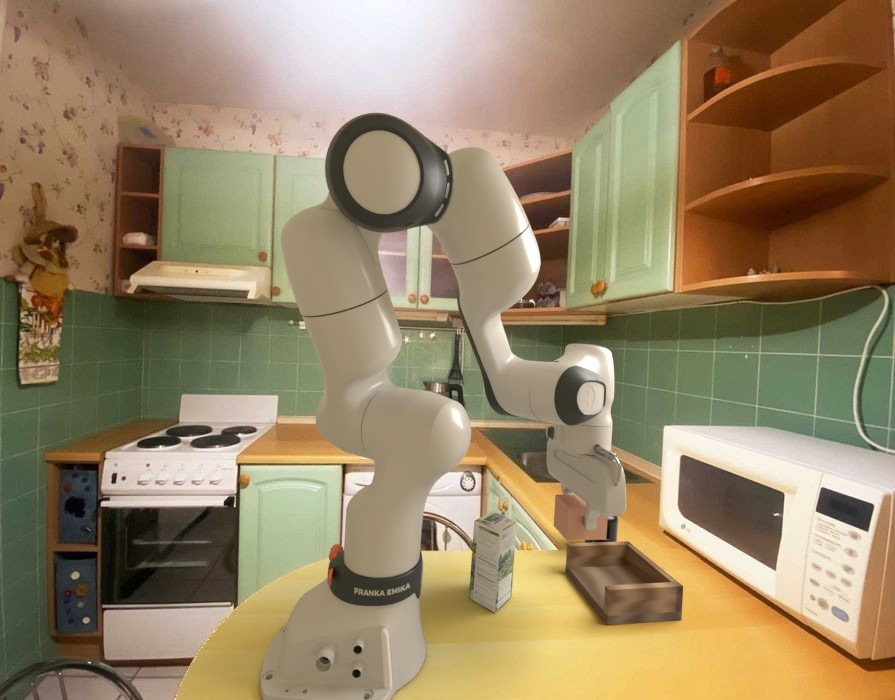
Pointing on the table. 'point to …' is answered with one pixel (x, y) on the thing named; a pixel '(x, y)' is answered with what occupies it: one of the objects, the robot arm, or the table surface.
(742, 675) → the table surface
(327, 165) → the robot arm
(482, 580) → the syrup box
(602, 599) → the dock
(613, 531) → the supplement bottle
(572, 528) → the pink rectangular block
